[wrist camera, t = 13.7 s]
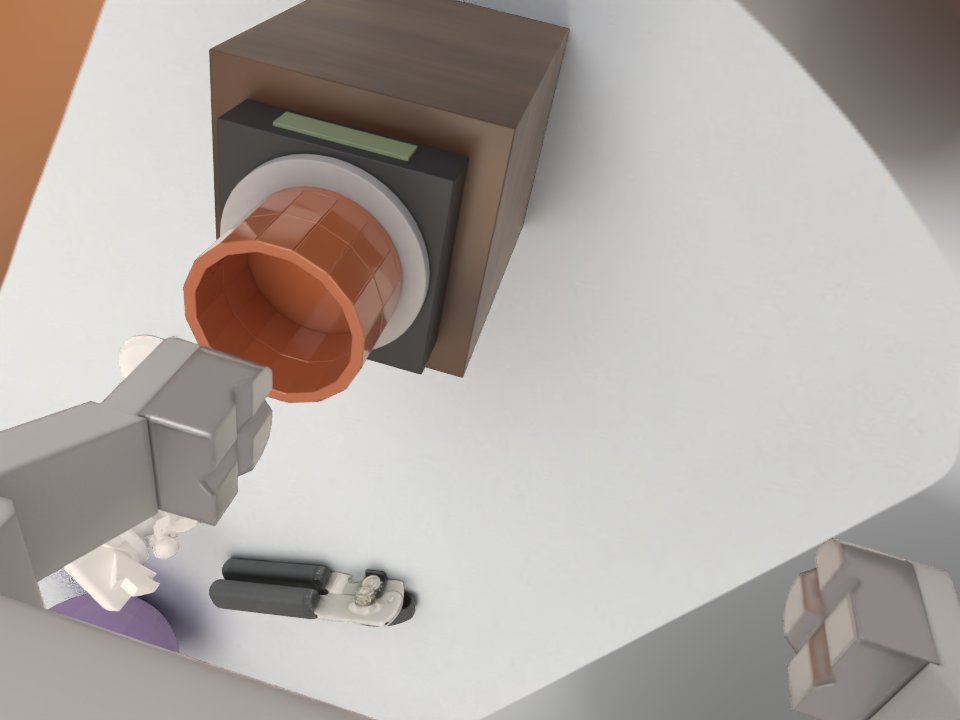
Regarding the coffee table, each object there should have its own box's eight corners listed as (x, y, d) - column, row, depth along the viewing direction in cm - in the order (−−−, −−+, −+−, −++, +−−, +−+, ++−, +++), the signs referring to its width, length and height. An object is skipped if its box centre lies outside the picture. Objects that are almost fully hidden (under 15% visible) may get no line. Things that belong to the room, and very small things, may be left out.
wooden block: (355, -25, 42) (208, 48, 29) (569, 28, 41) (516, 128, 28) (340, 178, 49) (218, 309, 36) (522, 227, 48) (462, 378, 35)
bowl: (242, 165, 28) (177, 218, 24) (412, 211, 28) (371, 272, 24) (244, 310, 32) (188, 374, 28) (393, 353, 32) (355, 422, 28)
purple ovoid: (174, 669, 91) (66, 851, 75) (47, 588, 87) (-96, 764, 71) (243, 620, 82) (136, 816, 66) (104, 527, 77) (-47, 714, 61)
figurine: (152, 412, 66) (62, 515, 56) (102, 345, 62) (-4, 442, 53) (217, 398, 63) (133, 503, 53) (168, 327, 59) (69, 426, 50)
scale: (246, 94, 30) (207, 119, 27) (470, 152, 29) (451, 184, 27) (248, 290, 35) (216, 326, 33) (436, 343, 35) (417, 383, 32)
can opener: (411, 569, 70) (395, 615, 66) (420, 613, 74) (404, 659, 70) (222, 544, 74) (196, 585, 70) (239, 586, 78) (215, 629, 74)
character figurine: (227, 509, 71) (156, 618, 62) (154, 525, 75) (77, 629, 66) (170, 439, 67) (84, 544, 58) (96, 459, 71) (5, 560, 62)
